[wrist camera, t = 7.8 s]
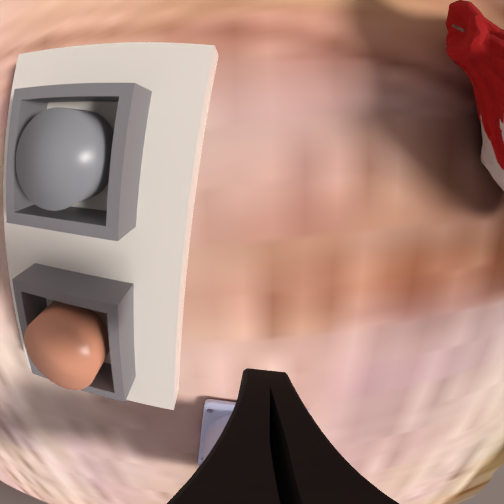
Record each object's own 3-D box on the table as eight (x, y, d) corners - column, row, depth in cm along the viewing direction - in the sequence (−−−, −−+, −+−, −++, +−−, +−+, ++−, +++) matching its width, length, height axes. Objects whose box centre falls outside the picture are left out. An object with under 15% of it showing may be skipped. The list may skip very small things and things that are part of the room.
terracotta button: (113, 371, 17) (99, 398, 15) (51, 353, 17) (33, 376, 15) (107, 307, 16) (89, 332, 13) (40, 291, 15) (17, 311, 13)
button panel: (178, 391, 22) (167, 436, 17) (40, 354, 21) (13, 388, 17) (218, 55, 15) (208, 28, 10) (36, 59, 14) (-7, 48, 10)
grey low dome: (113, 204, 15) (91, 216, 12) (41, 195, 14) (14, 205, 12) (124, 111, 13) (101, 106, 11) (48, 110, 13) (20, 109, 11)
